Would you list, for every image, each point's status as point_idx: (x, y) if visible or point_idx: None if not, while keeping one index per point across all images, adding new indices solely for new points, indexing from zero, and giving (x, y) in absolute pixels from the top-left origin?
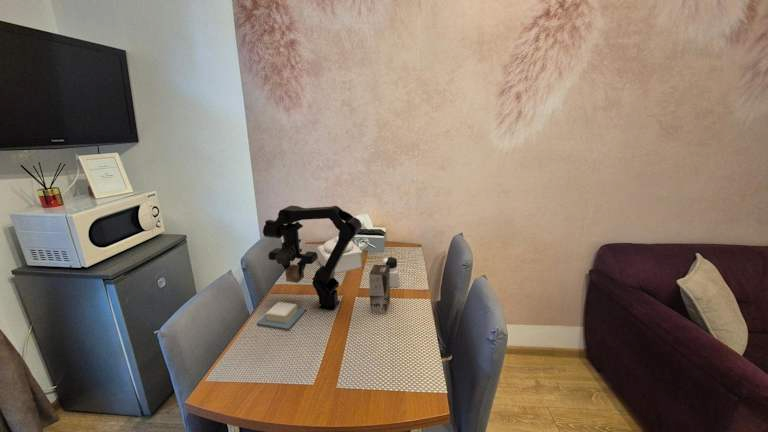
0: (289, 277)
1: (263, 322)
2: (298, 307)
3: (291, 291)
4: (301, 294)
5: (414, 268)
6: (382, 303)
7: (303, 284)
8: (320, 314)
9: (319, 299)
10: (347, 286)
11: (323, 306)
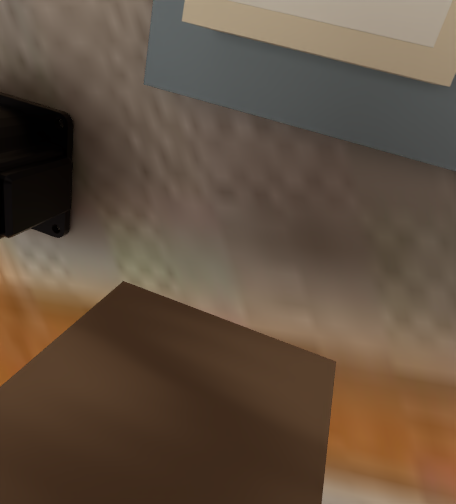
0: (243, 394)
1: None
2: (222, 100)
3: (370, 397)
4: None
5: None
6: None
7: None
8: (30, 24)
9: (33, 165)
10: (9, 375)
11: (28, 121)
